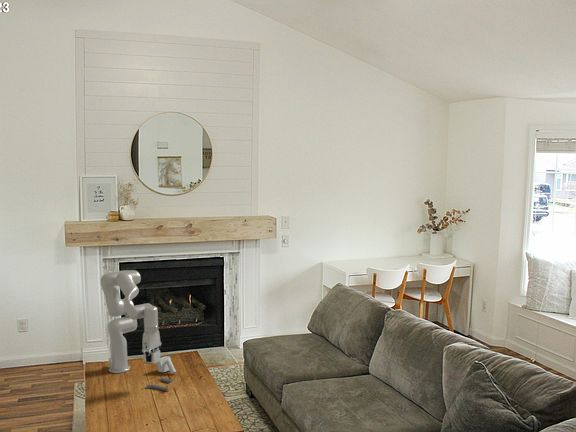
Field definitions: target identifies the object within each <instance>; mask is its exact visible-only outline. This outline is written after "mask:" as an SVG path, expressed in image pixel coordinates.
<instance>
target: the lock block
mask: <svg viewBox="0 0 576 432" xmlns="http://www.w3.org/2000/svg"><path fill="white" fill-rule="evenodd" d="M148 352H149V351H148ZM150 355H151V362H146V355H145V354H144V353H143V357H144V358H143V362H145V363H148V364H157V362H159V361H161V360H160V358H161V350H160V349H159V350H156V349H152V350H151V352H150Z"/></svg>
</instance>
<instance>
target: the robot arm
mask: <svg viewBox="0 0 576 432" xmlns="http://www.w3.org/2000/svg"><path fill="white" fill-rule="evenodd" d="M141 280H142V277H141V274H140V272H139V271H137V270H135V269H124V270H118V271H112V272H107V273H104V274H103V275H101V277H100V286H101V290H102V292H103V294H104V296H105V297H104V298H105V303H106V309H107V313H108V316H110V317H112V318H113V317H114V318H115V317H118V318H115V319H111V320H110V321H109V322H108V324H107V331H108V335H109V341H110V342H109V343H110V345H109V346H110V360H108V361H107V363H106V364H107V366H109V368H108V372H110V373H111V374H112V373H113V374H121V373H125V372H128V371H129V370H130V369H131V366H130V365H129V364H128V344H127V343H128V342H127V339H126V337H125V336H124V335H123V334H127V333H130V332H134V331H136V330H137V328H138V320H139V319H143V325H144V326H143V329H144V332H143V334H142V349H141V353H143V355H144V354H145V355H146V362H145V363H148V362H151V355H150V352H151V350H152V349H156V350H160V349H161V346H162V341H161V336H160V331H159V317H158V316H159V312H158V307H156V306H155V305H152V304H151V303H150V302H148V303H143V304H136V305H135V304H134V302H133V299H135V298H136V297H137V296H138V295H139V292H140V290H139V288H138V286H137V285H138V284H140V283H141ZM116 287H119V289H120V290H121V292H122V294H123V295H124V298H123V299H122V298H121V294H120V291H119V290H118V289H117V288H116ZM123 315H124V316H123ZM121 316H123V317H121ZM148 351H149V352H148Z"/></svg>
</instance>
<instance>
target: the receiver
mask: <svg viewBox="0 0 576 432" xmlns="http://www.w3.org/2000/svg"><path fill="white" fill-rule="evenodd" d="M159 379H160V381H162V382H163V383H167V384H166V385H165V386H162V385H156V384H146V389H154V390H159V391H163V392H167V393H169V392H170V391H172V390H174V389H175V388H177V387H178V386H181V385H182V383H181V382H182V378H180V377H178V378H176V379H169V378H165V377H163V376H160V378H159Z"/></svg>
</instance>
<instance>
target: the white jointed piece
mask: <svg viewBox="0 0 576 432" xmlns="http://www.w3.org/2000/svg"><path fill="white" fill-rule="evenodd" d="M160 360H161V361H159V362H156V366H157V371H158V372H159V373H165V372H170V374H171V375H174V374H175V373H177V371H176V369H175V366H174V364H173V362H172V358H171V356H166V355H165V356H163V357H160Z"/></svg>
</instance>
